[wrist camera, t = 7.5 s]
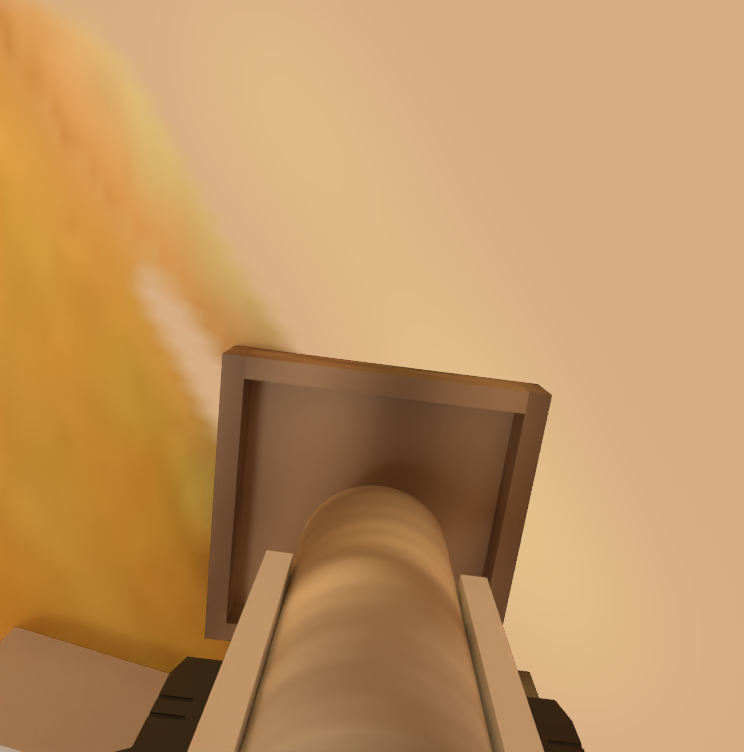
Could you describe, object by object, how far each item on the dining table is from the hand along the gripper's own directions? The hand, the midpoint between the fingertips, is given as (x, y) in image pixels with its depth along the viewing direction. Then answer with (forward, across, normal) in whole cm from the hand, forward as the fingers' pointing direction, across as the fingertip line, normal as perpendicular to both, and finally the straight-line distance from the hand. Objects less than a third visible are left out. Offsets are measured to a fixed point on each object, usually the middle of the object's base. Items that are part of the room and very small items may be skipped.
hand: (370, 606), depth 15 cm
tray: (+6, 0, 0) cm, 6 cm away
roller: (+3, 0, 0) cm, 3 cm away
